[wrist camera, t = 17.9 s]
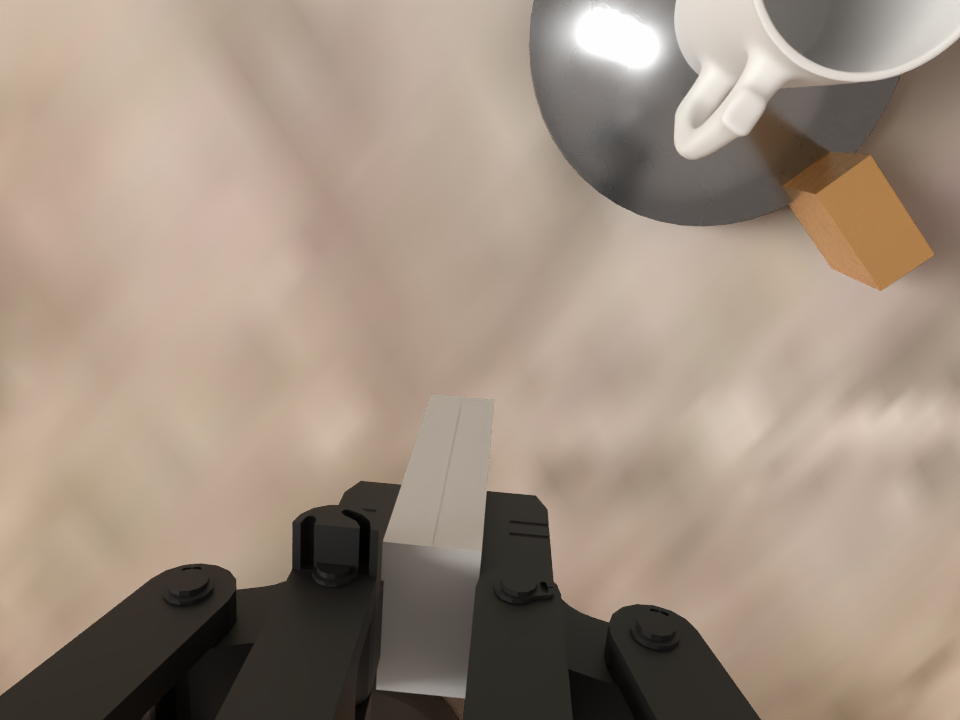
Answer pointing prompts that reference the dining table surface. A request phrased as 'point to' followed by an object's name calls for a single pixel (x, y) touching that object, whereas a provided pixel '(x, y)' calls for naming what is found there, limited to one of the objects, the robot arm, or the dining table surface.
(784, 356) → the dining table surface
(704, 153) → the mug
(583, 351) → the dining table surface
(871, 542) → the dining table surface
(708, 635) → the dining table surface
